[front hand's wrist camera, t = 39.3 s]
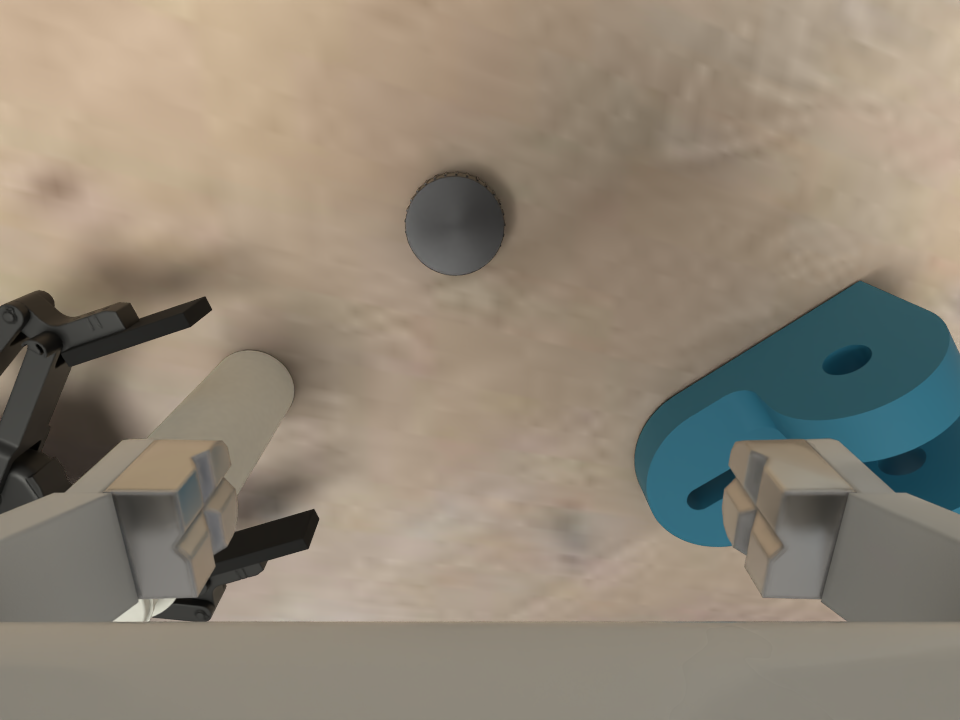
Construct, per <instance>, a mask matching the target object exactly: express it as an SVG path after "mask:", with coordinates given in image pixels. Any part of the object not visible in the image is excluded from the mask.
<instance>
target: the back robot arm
mask: <svg viewBox="0 0 960 720" xmlns="http://www.w3.org/2000/svg"><path fill="white" fill-rule="evenodd" d="M54 306H55V304H54V300H53V298H52V297H51V296H50V294H48V293H47V292H45V291H40V290H39V291H34V292H32V293H30V294H27V295H25V296H22V297H20V298H18V299H15V300H13V301H11V302H8V303H6V304H4V305H2V306H0V376H1V374H2V373H3V372H4V371H5V369H6V368H7V367H8V366H9V364H10V363H11V362H12V361H13V359H14V358H15V357H16V356H17V354H18V353H19V352H20V351H21V349H22V348H23V347H24V346H26V345H28V348H27V349H28V350H27V352H26V355H25V358H24V360H23V363H22V366H21V368H20V371H19V374H18V376H17V379H16V382H15V384H14V387H13V390H12V392H11V395H10V398H9V400H8V403H7V406H6V408H5V411H4V413H3V416H2V419H1V421H0V514H2V513H5V512H7V511H10V510H12V509H15V508H17V507H20V506H22V505H25V504H27V503H30V502H32V501H35V500H37V499H40V498H42V497H45V496H47V495H50V494H52V493H65V492H66V491H67V490H68V489H69V488H70V487H71V486H72V484H71V483H70V482H69V481H68V480H67V478H66V475H65V472H64V469H63V467H62V466H61V464H60V463H59V461H58V460H57V458H56V457H53V458H50V457H48V456H47V455H45V454H44V453H42V452H41V450H42V448H43V445H44V443H45V440H46V438H47V436H48V433H49V431H50V426H49V425H48V424H49V421H50V419H51V416H52V414H53V411H54V409H55V406H56V404H57V402H58V399H59V397H60V394H61V392H62V389H63V387H64V384H65V382H66V379H67V377H68V375H69V372H70V370H71V367H72V366H75V365H78V364H81V363H84V362H87V361H90V360H93V359H96V358H99V357H102V356H105V355H108V354H111V353H114V352H117V351H120V350H123V349H126V348H129V347H132V346H135V345H138V344H141V343H144V342H147V341H150V340H153V339H156V338H159V337H162V336H165V335H168V334H171V333H174V332H177V331H180V330H183V329H186V328H189V327H191V326H192V325H194V324H195V323H196V322H198V321H199V320H200V319H201V318H203V317H204V316H205V315H206V314H208V313H209V312H210V311H211V310H212V308H211V306H210V304H209V302H208V301H207V299H206V297H202V298H199V299H196V300H193V301H190V302H187V303H184V304H181V305H179V306H176V307H173V308H170V309H167V310H164V311H161V312H158V313H155V314H152V315H149V316H146V317H143V318H140V319H139V318H138V316H137V314H136V312H135V311H134V309H133V307H132V305H131V303H121V302H119V303H116V304H113V305H110V306H107V307H104V308H102V309H98V310H95V311H93V312H90V313H87V314H84V315H81V316H78V317H68V316H65V315H63V314H62V313H60V312H59V311H58V310H57V309H56V308H55V307H54ZM318 521H319V517H318V515H317V513H316V511H315V510H314V509H312V510H309V511H305V512H302V513H298V514H295V515H292V516H288V517H285V518H281V519H278V520H275V521H271V522H268V523H264V524H261V525H257V526H254V527H251V528H247V529H244V530H240V531H237V532H234V535H233V537H232V539H231V540H230V542H229V544H228V546H227V547H226V548H225V549H223V550H221V551H220V552H218V553H217V554H215V555H213V556H214V561H215V568H214V570H213V572H212V574H211V575H210V577H209V579H208V580H207V582H206V584H205V585H204V587H203V589H202V591H201V592H200V594H199V596H198V597H197V598H176V599H175V601H174V602H173V603H172V604H171V605H170V606H169V607H168V608H167V609H166V610H164V611H163V612H161V613H159V614H157V615H156V616H153V617H152V618H163V619H173V620H183V621H194V622H206V621H209V620H210V619H211V617H212V615H213V613H214V611H215V609H216V607H217V605H218V603H219V601H220V599H221V597H222V595H223V593H224V591H225V589H226V584H227V583H231V582H234V581H238V580H241V579H245V578H247V577H252V576H255V575H258V574H259V573H260V572H262V571H263V570H264V568H265V566H266V563H267V561H268V560H271V559H275V558H278V557H282V556H285V555H289V554H292V553H296V552H299V551H303V550H306V549H309V546H310V543H311V541H312V538H313V535H314V532H315V530H316V527H317V524H318Z"/></svg>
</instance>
